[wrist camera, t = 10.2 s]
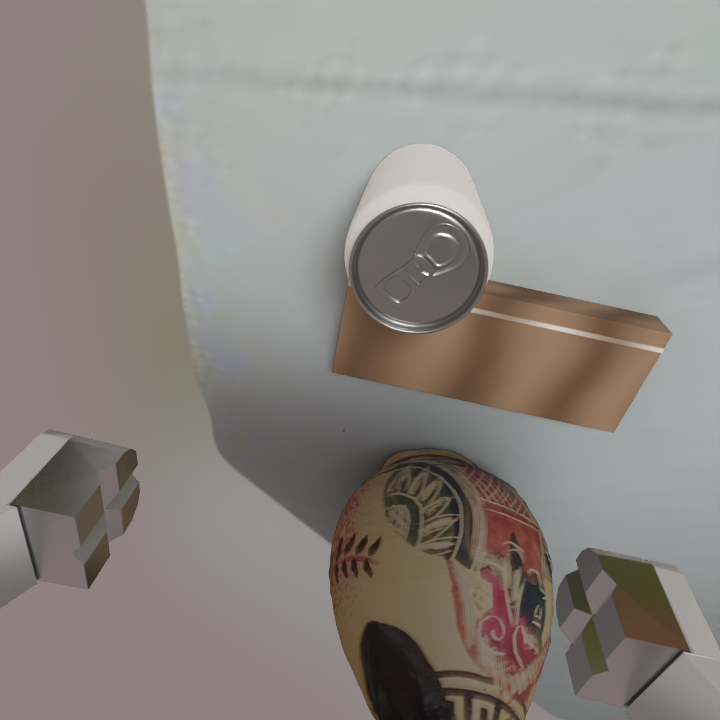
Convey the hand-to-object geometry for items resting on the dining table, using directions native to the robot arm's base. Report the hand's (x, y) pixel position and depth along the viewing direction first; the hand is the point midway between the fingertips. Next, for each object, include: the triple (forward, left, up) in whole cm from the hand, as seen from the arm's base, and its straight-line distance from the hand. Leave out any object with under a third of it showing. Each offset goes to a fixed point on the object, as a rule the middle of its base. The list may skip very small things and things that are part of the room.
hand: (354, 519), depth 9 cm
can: (-1, 0, -25) cm, 25 cm away
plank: (-8, +8, -25) cm, 28 cm away
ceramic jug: (-7, +23, -25) cm, 35 cm away
